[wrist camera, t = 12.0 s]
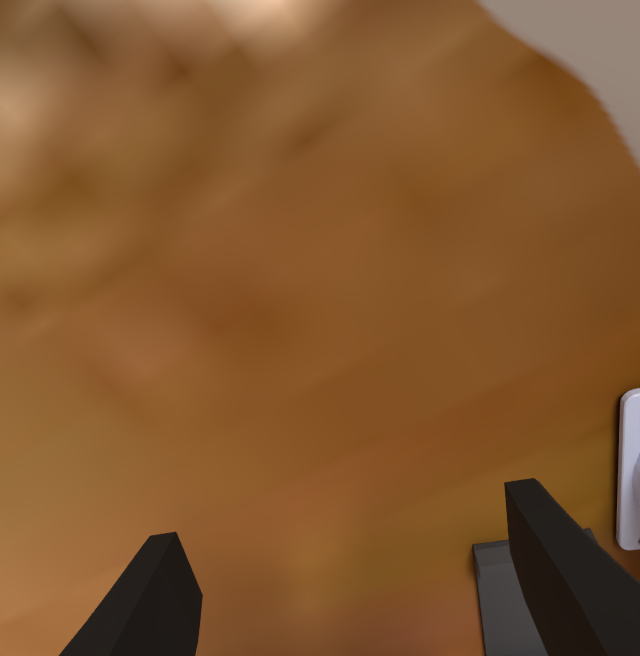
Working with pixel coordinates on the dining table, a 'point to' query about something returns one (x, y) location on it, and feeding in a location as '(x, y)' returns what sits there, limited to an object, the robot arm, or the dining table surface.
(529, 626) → the trap pocket
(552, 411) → the dining table surface
